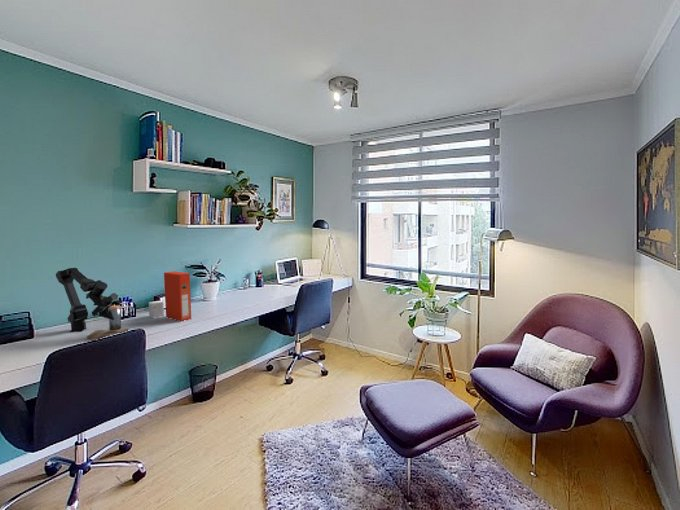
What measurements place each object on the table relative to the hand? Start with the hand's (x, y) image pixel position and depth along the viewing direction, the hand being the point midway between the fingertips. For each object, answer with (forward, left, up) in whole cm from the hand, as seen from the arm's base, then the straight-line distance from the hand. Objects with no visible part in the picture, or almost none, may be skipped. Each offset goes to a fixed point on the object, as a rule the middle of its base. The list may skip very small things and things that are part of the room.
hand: (117, 317), depth 213 cm
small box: (+11, +40, -11) cm, 43 cm away
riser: (-5, 0, -10) cm, 12 cm away
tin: (-1, 0, -7) cm, 7 cm away
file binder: (+27, +32, -11) cm, 43 cm away
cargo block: (-1, 0, +5) cm, 5 cm away
